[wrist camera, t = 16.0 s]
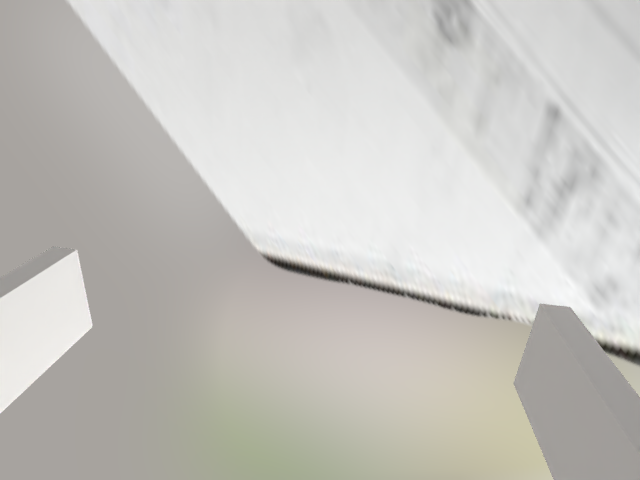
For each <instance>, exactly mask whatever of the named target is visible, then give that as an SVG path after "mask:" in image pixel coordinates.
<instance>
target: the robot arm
mask: <svg viewBox="0 0 640 480" xmlns="http://www.w3.org/2000/svg"><path fill="white" fill-rule="evenodd" d="M91 328H92V321H91V316H90V311H89V306H88V301H87V296H86V291H85V286H84V281H83V277H82V272H81V267H80V262H79V257H78V252H77V249H68V248H60V247H51V248H50V249H48V250H46V251H45V252H43V253H41V254H39V255H38V256H36V257H34V258H32V259H31V260H29V261H27V262H26V263H24V264H22V265H21V266H19V267H17V268H15V269H13V270H12V271H10V272H8V273H7V274H5V275H3V276H2V277H0V413H1V412H2V411H3V410H4V409H5V408H6V407H7V406H9V404H11V403H12V402H13V401H14V400H15V399H16V398H17V397H18V396H19V395H20V394H21V393H22V392H23V391H25V389H27V388H28V387H29V386H30V385H31V384H32V383H33V382H34V381H35V380H36V379H37V378H38V377H39V376H40V375H42V374H43V373H44V372H45V371H46V370H47V369H48V368H49V367H50V366H51V365H52V364H53V363H54V362H55V361H57V360H58V359H59V358H60V357H61V356H62V355H63V354H64V353H65V352H66V351H67V350H68V349H69V348H70V347H71V346H72V345H74V344H75V343H76V342H77V341H78V340H79V339H80V338H81V337H82V336H83V335H84V334H85V333H86V332H87V331H88V330H90V329H91ZM514 385H515V388H516V390H517V393H518V395H519V397H520V400H521V402H522V405H523V407H524V409H525V412H526V414H527V417H528V419H529V421H530V423H531V426H532V429H533V431H534V434H535V436H536V438H537V441H538V443H539V445H540V448H541V450H542V453H543V455H544V457H545V460H546V462H547V465H548V467H549V469H550V472H551V474H552V477H553V479H554V480H640V397H639V396H638V394H637V393H636V392H635V391H634V389H633V388H632V387H631V385H630V384H629V383H628V381H627V380H626V379H625V378H624V376H623V375H622V374H621V372H620V371H619V370H618V368H617V367H616V366H615V365H614V363H613V362H612V361H611V359H610V358H609V357H608V356H607V354H606V353H605V352H604V350H603V349H602V348H601V346H600V345H599V344H598V343H597V341H596V340H595V339H594V337H593V336H592V335H591V333H590V332H589V331H588V330H587V328H586V327H585V326H584V324H583V323H582V322H581V321H580V319H579V318H578V317H577V315H576V314H575V313H574V311H573V310H572V309H571V308H570V307H564V306H555V305H547V304H540V305H539V308H538V311H537V314H536V317H535V320H534V323H533V326H532V330H531V332H530V336H529V338H528V342H527V344H526V348H525V350H524V353H523V357H522V360H521V363H520V366H519V369H518V372H517V375H516V378H515V381H514Z"/></svg>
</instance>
